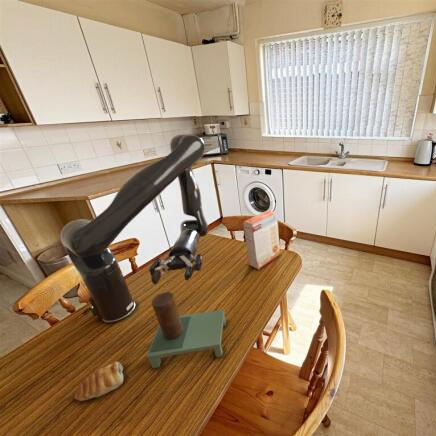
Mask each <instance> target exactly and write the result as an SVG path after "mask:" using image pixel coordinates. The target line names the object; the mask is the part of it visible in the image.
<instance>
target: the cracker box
mask: <svg viewBox="0 0 436 436" xmlns="http://www.w3.org/2000/svg"><path fill="white" fill-rule="evenodd" d="M278 223H279V222H278V213H277V212H274V211H271V210H268V209H267V210H265V211H263V212H261V213H259V214H257V215H255V216H253V217H249V218H248V219H246V220H244V221H242V225H243V231H244V237H245V244H246V252H247V258H248V265H249V266H251V267H252V268H254V269H256V270H261V268H263V267H264V266H266V265H268V264H269V263H270V262H271V261H273V260H274V259H276V258H277V257H278V256H280V255H281V249H280V248H281V247H280V236H279V224H278Z"/></svg>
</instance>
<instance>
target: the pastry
mask: <svg viewBox="0 0 436 436" xmlns="http://www.w3.org/2000/svg"><path fill="white" fill-rule="evenodd" d="M123 370H124V367H123V365H122V364H121V363H120V362H119V361H114V362H113V363H110V364H108V365H105V366H104V367H101V368H99V369H98V370H97V371H96V372H94V373H93V374H92V375H91V376H90V377H87V378H86V379H85V380H84V381H82V383H80V385H78V386H77V388H76V390H75V394H74V397H73V398H74V399H75V400H77V401H80V402H83V401H87V400H91V399H94V398H100V397H101V396H104V395H106V394H108V393H110V392H111V391H113V390H116V389H118V388H119V387H120V386H121V385H122V384H123V383H124V377H125V376H124V374H123Z"/></svg>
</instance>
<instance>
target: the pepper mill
mask: <svg viewBox="0 0 436 436" xmlns="http://www.w3.org/2000/svg"><path fill="white" fill-rule="evenodd" d="M151 306H152V308H153V311H154V314H155V317H156V320H157V322H158V326H159V325H160V328H161V330H162V333H163V336H164V338H165V339H166V340H174V339H176V338H178V337H179V336H180V335H181V334H182V333H183V330H184V328H183V325H182V321H181V318H180V316H181V315H180V311H179V310H178V305H177V303H176V299H175V296H174V294H173V293H172V292H170V291H169V292H168V291H167V292H166V291H165V292H162V293H159V294H157V295H156V296H155V297H153V299H152V300H151Z"/></svg>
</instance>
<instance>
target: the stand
mask: <svg viewBox="0 0 436 436" xmlns="http://www.w3.org/2000/svg"><path fill="white" fill-rule="evenodd" d="M225 314H226V313H225V309H220V310H219V309H218V310H213V311H205V312H197V313H190V314H184V315H180V318H181V321H182V325H183V328H184V330H183V333H182V334H181V335H180V336H179V337H178V338H176V339H174V340H166V339H165V338H164V336H163V333H162V330H161V328H160V325H159V324H158V327H157V329H156V331H155V332H156V333H155V334H154V336H153V339H152V342H151V344H150V347H149V348H148V351H147V354H146V357H145V358H146V359H147V360H149V363H150V365H151V367H152V369H156V368H160V366H161V363H162V359H161V358H164V357H165V358H166V357H172V356H176V355H183V354H188V353H195V352H199V351H200V352H201V351H207V350H212V349H213V351H214V355H215V358H219V357H223V353H224V352H223V347H222V338H223V330H224V327H226V323H227V321H226V316H225Z"/></svg>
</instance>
